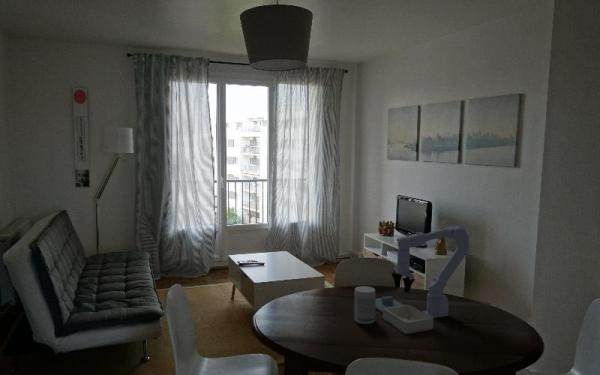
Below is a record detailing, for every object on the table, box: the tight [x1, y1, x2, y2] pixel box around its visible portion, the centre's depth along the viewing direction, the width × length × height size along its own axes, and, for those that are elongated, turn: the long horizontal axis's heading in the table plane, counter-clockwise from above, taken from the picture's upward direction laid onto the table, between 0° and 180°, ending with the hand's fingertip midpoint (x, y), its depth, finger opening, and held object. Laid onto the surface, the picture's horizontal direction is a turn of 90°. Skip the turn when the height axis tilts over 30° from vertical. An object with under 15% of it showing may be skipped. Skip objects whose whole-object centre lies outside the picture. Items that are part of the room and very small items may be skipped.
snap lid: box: [375, 295, 404, 314], centre depth 222 cm, size 14×18×6 cm
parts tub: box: [382, 304, 434, 335], centre depth 201 cm, size 14×18×5 cm
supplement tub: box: [353, 285, 377, 325], centre depth 204 cm, size 10×10×15 cm
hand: (402, 289), depth 216 cm, fingers open, 7 cm apart
